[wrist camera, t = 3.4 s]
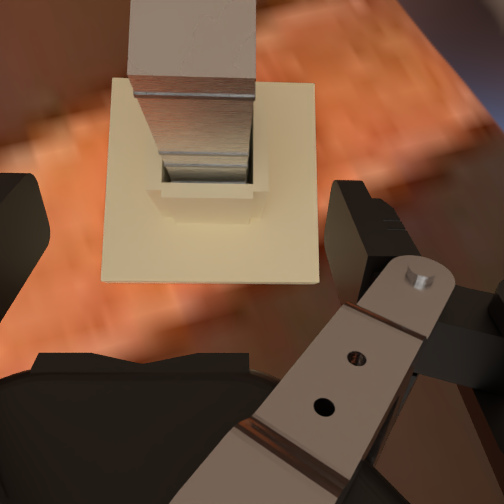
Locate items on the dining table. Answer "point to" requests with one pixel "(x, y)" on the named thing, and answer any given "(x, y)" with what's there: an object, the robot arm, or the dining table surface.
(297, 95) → the stand base
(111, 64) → the dining table surface
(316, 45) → the dining table surface
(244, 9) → the column
